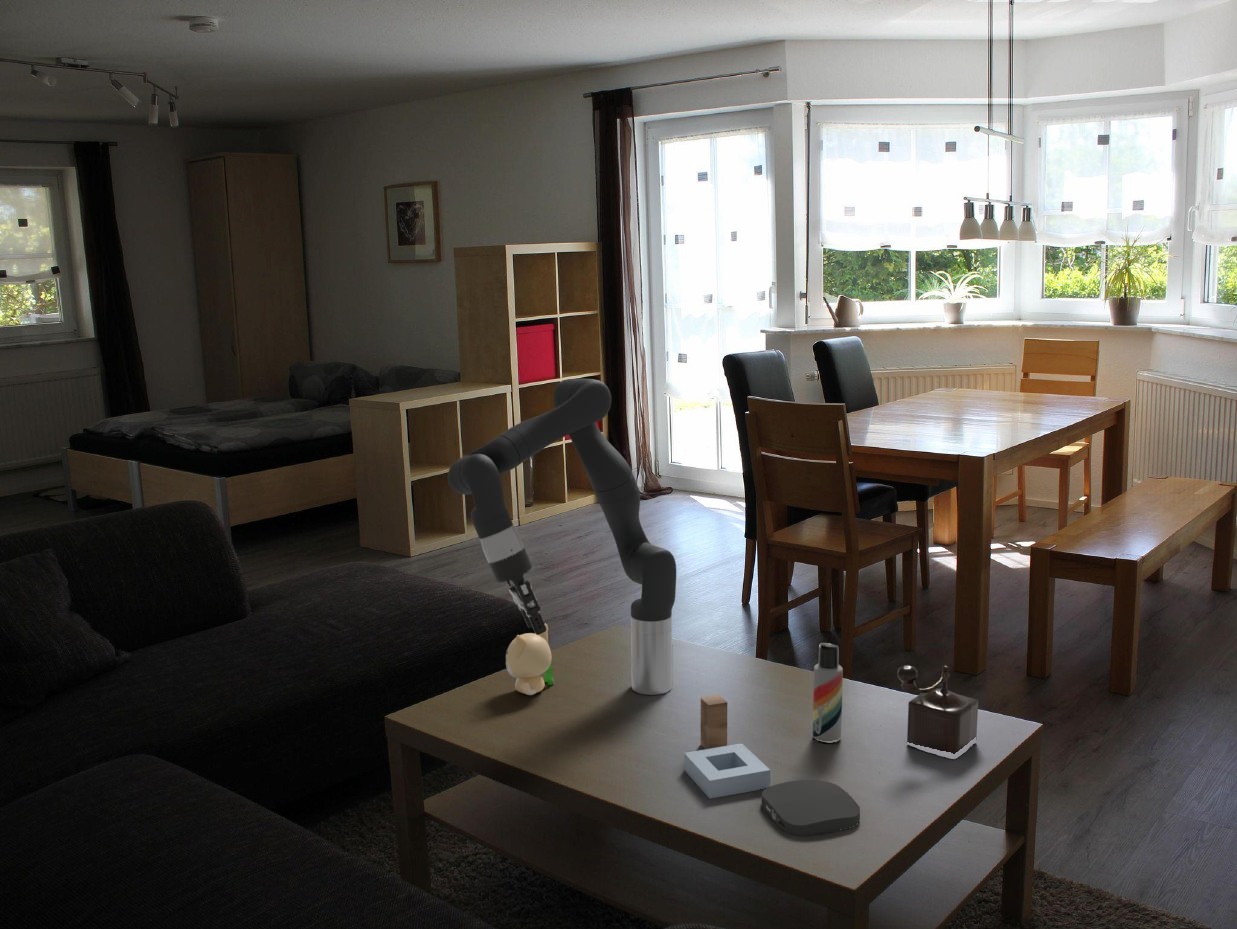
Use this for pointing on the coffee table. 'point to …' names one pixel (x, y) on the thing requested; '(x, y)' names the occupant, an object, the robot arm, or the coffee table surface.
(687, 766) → the socket
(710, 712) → the peg
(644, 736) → the coffee table surface
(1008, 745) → the coffee table surface
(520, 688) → the kitten
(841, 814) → the media streaming box
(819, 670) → the lotion bottle
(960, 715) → the manual coffee grinder
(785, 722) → the coffee table surface
